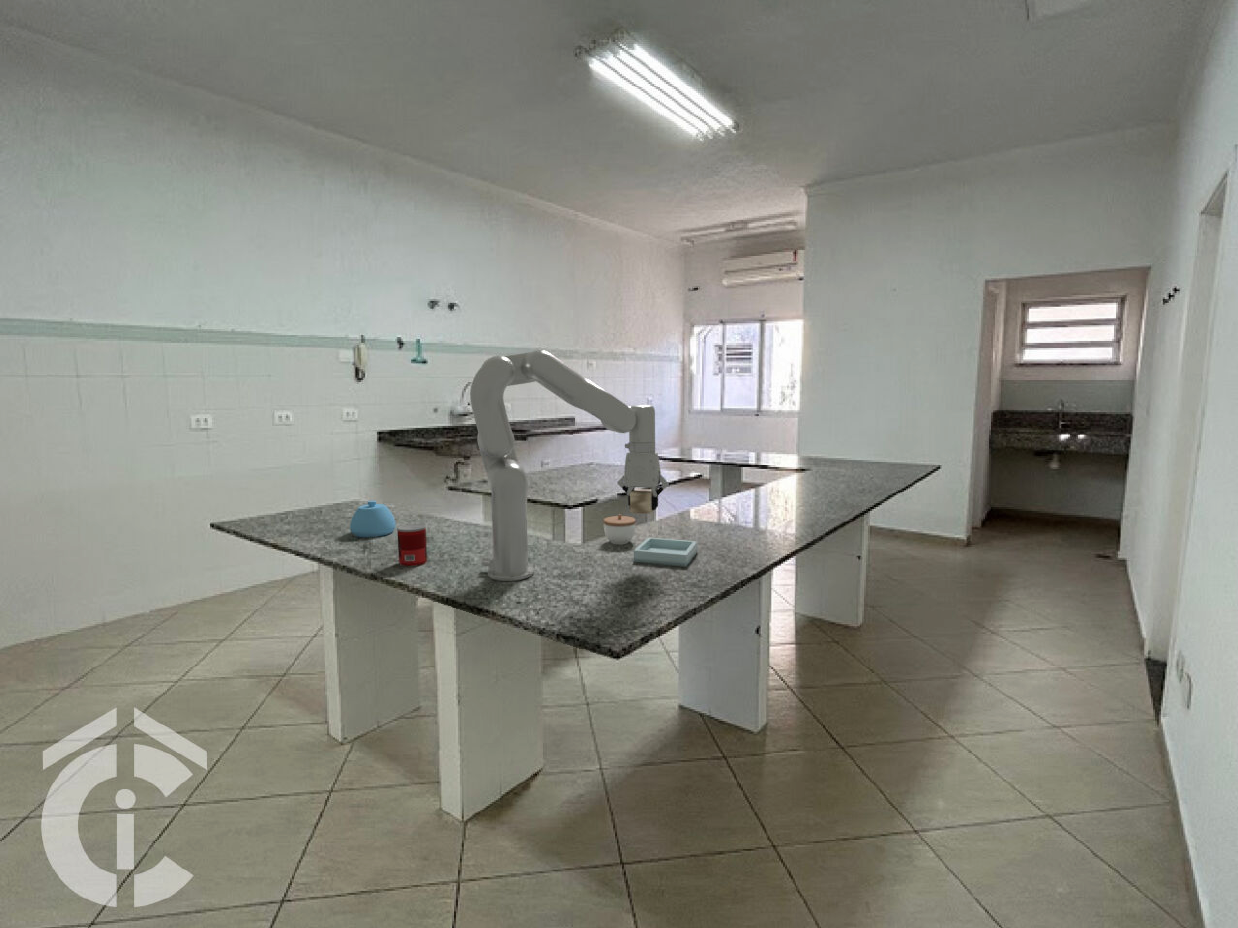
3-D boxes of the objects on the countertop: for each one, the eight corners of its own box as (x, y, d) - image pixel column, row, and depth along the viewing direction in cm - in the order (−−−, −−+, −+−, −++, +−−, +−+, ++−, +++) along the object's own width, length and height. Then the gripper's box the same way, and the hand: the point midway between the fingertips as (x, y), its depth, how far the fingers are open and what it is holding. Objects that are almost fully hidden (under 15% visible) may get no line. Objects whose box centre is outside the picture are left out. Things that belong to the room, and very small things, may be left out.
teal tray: (633, 561, 184) (633, 550, 183) (648, 547, 199) (648, 537, 198) (686, 566, 179) (686, 555, 178) (697, 552, 194) (697, 541, 194)
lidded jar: (618, 548, 199) (618, 519, 197) (597, 541, 207) (596, 514, 205) (642, 542, 206) (642, 514, 204) (621, 536, 214) (621, 509, 212)
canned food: (432, 562, 184) (430, 526, 182) (407, 568, 178) (405, 531, 177) (419, 557, 189) (417, 522, 188) (394, 563, 183) (392, 526, 182)
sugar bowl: (341, 537, 213) (339, 504, 212) (366, 527, 228) (364, 496, 226) (381, 539, 211) (379, 506, 209) (403, 528, 225) (402, 497, 224)
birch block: (630, 512, 180) (629, 492, 179) (636, 508, 185) (636, 488, 185) (650, 513, 178) (649, 493, 177) (655, 509, 183) (655, 489, 183)
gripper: (609, 448, 178) (611, 510, 181) (668, 450, 173) (668, 513, 175) (618, 445, 185) (619, 504, 188) (674, 446, 180) (674, 507, 182)
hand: (643, 508), depth 181 cm, fingers closed on birch block, 6 cm apart
